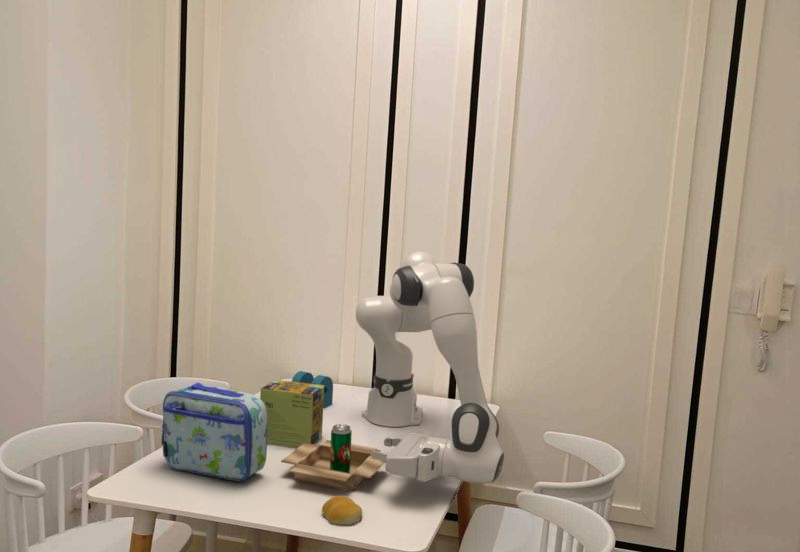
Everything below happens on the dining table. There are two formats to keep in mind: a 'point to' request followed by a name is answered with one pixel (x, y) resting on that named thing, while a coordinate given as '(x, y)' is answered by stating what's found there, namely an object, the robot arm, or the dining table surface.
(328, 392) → the camera mount
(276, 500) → the dining table surface
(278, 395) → the protein box
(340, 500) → the bread roll
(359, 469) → the carton
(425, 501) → the dining table surface
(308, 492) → the dining table surface
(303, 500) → the dining table surface
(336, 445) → the soda can
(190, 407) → the lunch box
